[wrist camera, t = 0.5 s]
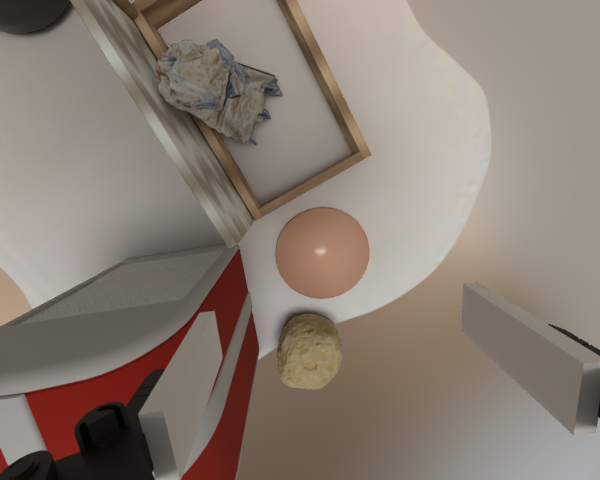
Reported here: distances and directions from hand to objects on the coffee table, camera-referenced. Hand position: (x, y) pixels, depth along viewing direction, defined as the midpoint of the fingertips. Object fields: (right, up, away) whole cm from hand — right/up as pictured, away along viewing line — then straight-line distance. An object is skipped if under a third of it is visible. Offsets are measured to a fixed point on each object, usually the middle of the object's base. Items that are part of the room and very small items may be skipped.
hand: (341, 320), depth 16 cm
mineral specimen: (-7, +23, +23) cm, 33 cm away
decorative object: (0, -13, +31) cm, 33 cm away
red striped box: (-17, -6, +28) cm, 33 cm away
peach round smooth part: (+1, +2, +26) cm, 27 cm away
